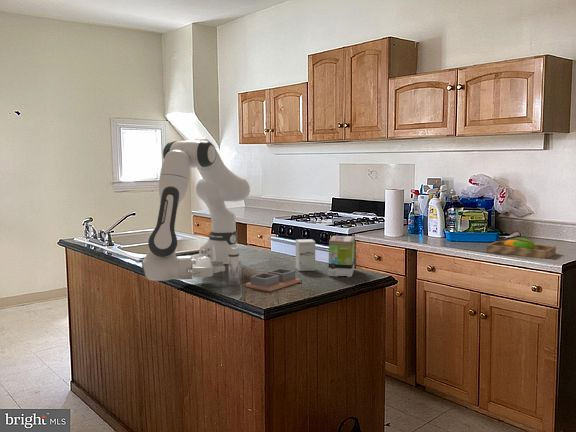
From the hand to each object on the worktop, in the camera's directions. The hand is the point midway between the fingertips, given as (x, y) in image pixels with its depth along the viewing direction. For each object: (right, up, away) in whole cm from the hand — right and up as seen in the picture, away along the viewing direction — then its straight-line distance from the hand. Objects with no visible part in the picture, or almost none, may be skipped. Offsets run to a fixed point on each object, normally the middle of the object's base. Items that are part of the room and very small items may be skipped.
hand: (224, 265), depth 204 cm
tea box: (+47, -5, +19) cm, 51 cm away
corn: (+137, +1, +60) cm, 150 cm away
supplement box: (+32, -4, +27) cm, 42 cm away
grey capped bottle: (+4, -7, +1) cm, 8 cm away
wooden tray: (+138, +1, +59) cm, 150 cm away
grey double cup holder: (+19, -7, +1) cm, 20 cm away
